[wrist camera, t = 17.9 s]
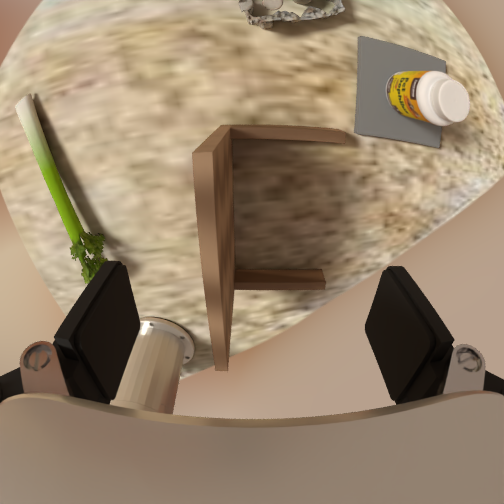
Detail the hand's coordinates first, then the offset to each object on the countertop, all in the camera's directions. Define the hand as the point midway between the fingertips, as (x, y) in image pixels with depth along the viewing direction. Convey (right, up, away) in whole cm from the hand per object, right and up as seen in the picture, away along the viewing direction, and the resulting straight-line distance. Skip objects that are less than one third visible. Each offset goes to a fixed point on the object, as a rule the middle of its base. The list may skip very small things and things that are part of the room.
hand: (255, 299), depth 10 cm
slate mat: (+18, +21, +17) cm, 32 cm away
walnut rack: (+4, +7, +25) cm, 26 cm away
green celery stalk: (-27, +11, +23) cm, 37 cm away
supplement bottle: (+17, +20, +16) cm, 31 cm away
